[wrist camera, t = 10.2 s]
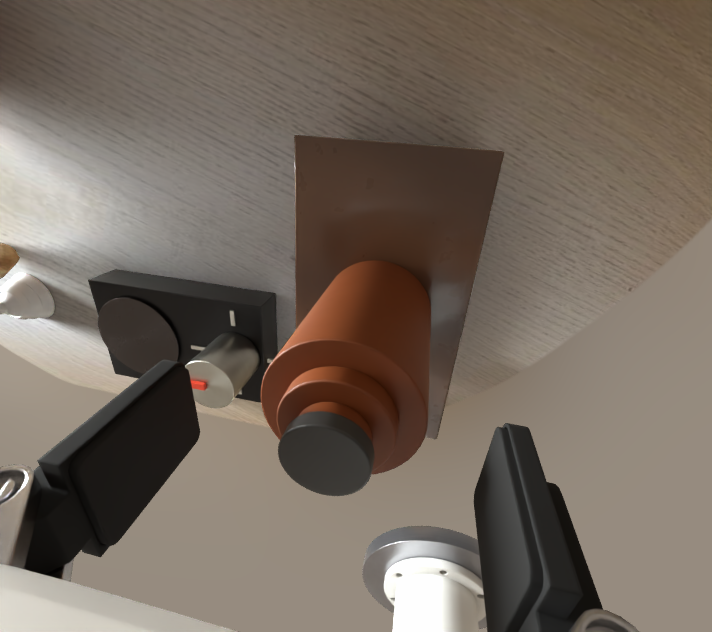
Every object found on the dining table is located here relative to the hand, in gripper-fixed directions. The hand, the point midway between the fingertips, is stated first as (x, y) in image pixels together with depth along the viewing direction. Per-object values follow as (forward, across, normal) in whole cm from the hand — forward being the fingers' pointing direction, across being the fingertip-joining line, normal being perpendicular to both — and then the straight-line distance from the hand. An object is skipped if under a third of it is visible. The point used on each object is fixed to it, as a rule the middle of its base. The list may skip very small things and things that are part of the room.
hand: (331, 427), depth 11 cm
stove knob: (+16, +12, +10) cm, 22 cm away
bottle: (+9, 0, 0) cm, 9 cm away
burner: (+16, +22, +10) cm, 29 cm away
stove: (+19, +18, +10) cm, 28 cm away
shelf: (+19, 0, 0) cm, 19 cm away
